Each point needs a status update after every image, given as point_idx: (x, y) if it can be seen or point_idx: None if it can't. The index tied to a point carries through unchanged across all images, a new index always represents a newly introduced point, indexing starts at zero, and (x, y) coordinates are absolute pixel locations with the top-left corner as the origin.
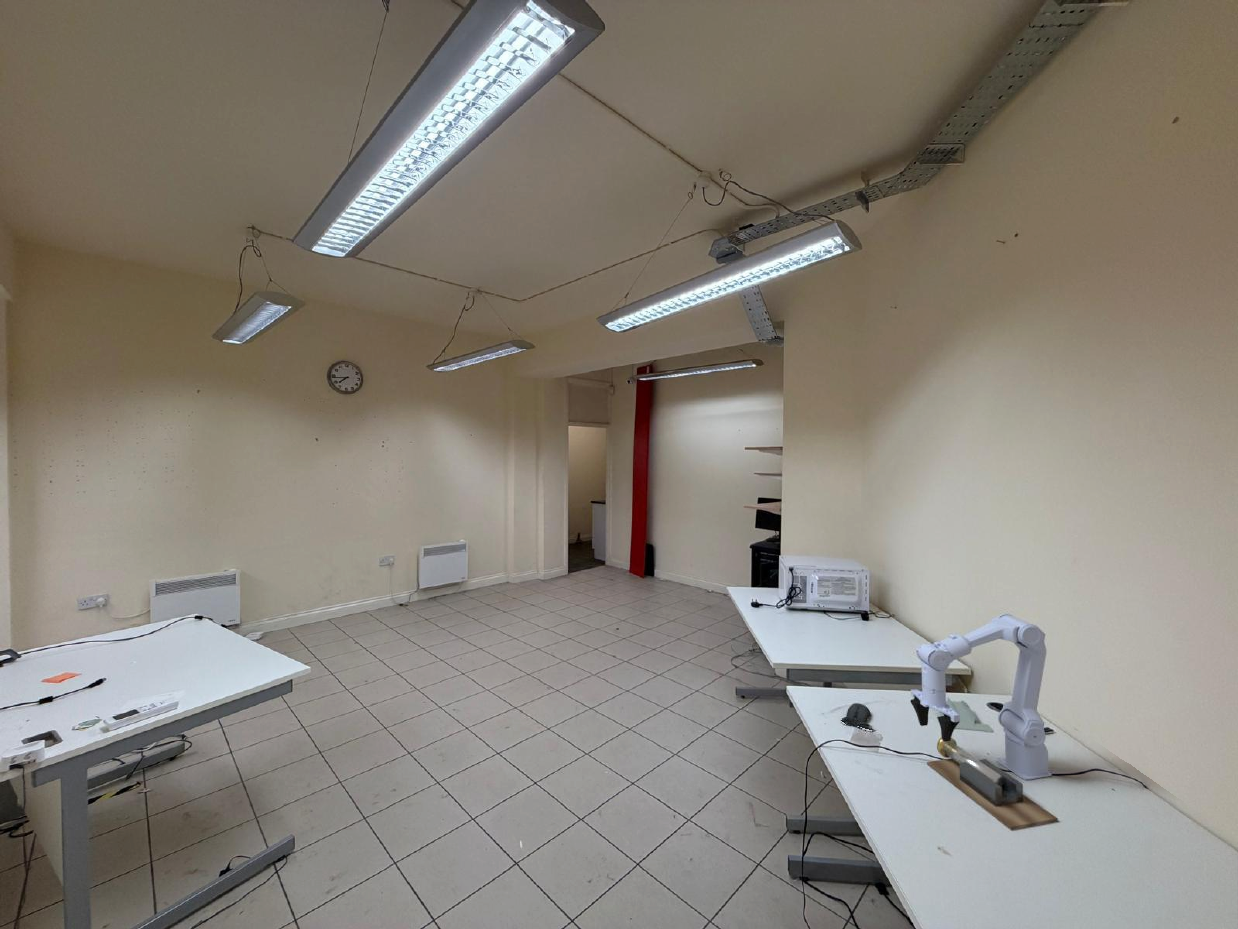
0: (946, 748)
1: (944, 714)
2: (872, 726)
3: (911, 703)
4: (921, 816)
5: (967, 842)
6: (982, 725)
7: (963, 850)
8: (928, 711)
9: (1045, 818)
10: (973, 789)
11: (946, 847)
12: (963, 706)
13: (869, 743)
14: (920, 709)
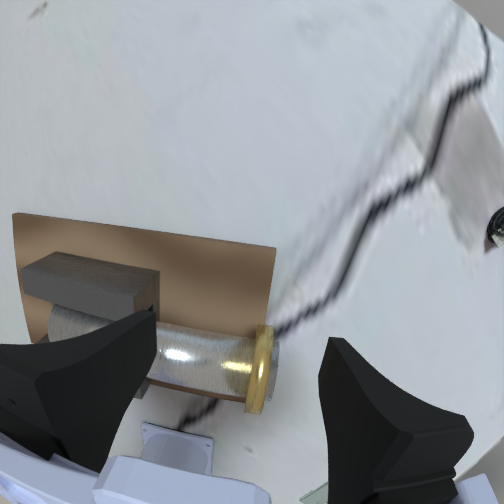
0: (235, 349)
1: (43, 455)
2: (499, 242)
3: (452, 414)
4: (104, 15)
5: (25, 73)
6: (320, 501)
7: (21, 50)
8: (329, 458)
9: (28, 319)
10: (110, 262)
11: (38, 20)
12: None
13: (452, 150)
14: (359, 427)
